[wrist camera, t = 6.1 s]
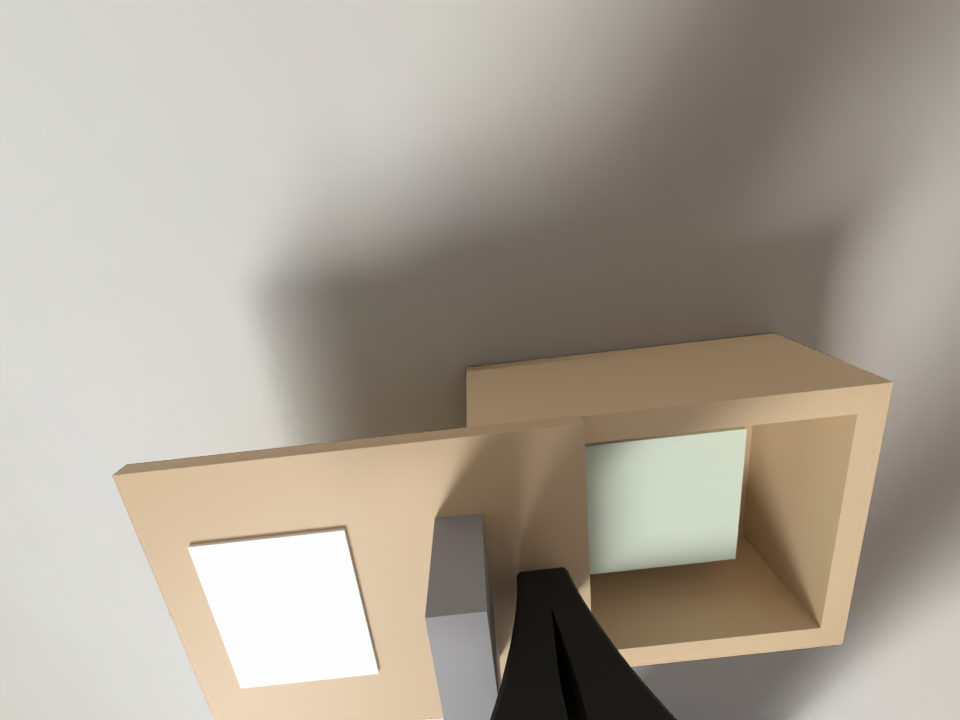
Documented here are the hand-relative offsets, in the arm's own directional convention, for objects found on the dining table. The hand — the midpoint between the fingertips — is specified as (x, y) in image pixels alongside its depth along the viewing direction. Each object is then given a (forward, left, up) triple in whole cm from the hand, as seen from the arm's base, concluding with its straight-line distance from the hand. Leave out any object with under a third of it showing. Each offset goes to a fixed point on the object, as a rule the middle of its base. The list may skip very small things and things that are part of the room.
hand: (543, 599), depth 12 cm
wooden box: (-3, -2, -6) cm, 7 cm away
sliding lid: (+3, +3, -1) cm, 5 cm away
